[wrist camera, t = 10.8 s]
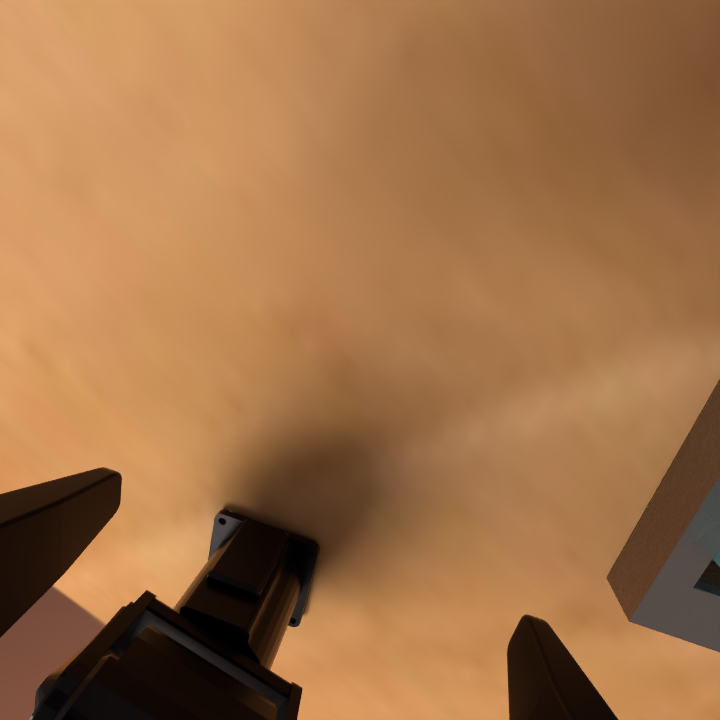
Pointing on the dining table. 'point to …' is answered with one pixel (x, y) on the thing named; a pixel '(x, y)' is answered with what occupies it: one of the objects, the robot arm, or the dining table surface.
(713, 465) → the plate with rectangular holes
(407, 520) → the dining table surface
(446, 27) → the dining table surface
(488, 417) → the dining table surface
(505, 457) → the dining table surface
